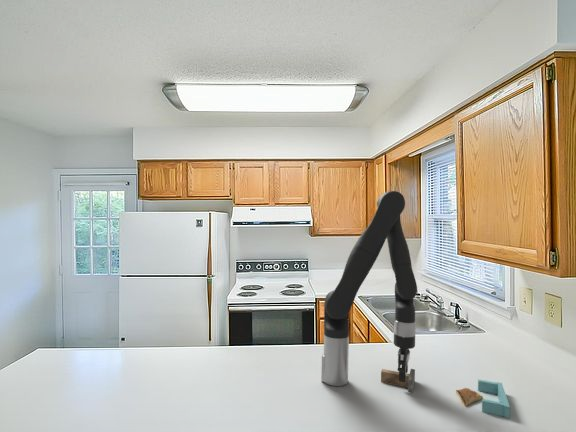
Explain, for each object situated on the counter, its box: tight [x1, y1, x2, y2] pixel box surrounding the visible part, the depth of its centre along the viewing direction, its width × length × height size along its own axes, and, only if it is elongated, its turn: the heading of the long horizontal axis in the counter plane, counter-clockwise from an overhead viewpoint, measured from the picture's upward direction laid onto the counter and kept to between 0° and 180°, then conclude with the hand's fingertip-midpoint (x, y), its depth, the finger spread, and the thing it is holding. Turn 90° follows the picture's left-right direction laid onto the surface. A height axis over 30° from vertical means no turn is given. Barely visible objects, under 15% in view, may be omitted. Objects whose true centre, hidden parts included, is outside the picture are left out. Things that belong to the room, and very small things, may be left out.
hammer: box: [380, 368, 416, 394], centre depth 135 cm, size 12×10×4 cm
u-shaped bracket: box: [477, 379, 511, 419], centre depth 123 cm, size 8×18×4 cm, turn 157°
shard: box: [455, 387, 484, 407], centre depth 126 cm, size 11×8×2 cm
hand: (403, 376), depth 135 cm, fingers open, 8 cm apart
